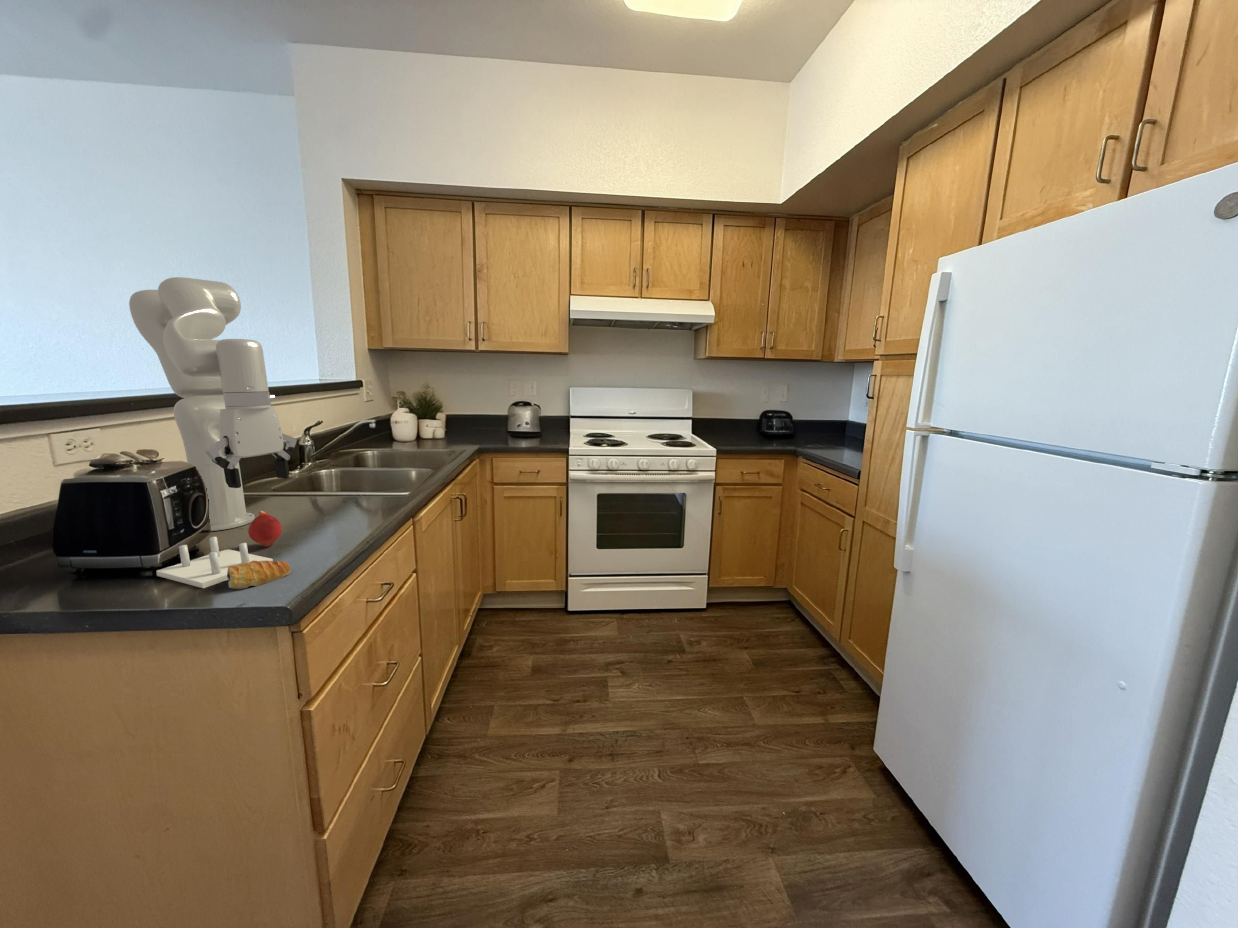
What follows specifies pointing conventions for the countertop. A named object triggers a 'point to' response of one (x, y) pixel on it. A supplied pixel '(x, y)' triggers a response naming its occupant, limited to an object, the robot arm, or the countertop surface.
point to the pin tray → (208, 565)
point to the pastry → (256, 573)
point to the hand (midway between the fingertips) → (259, 482)
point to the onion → (265, 529)
